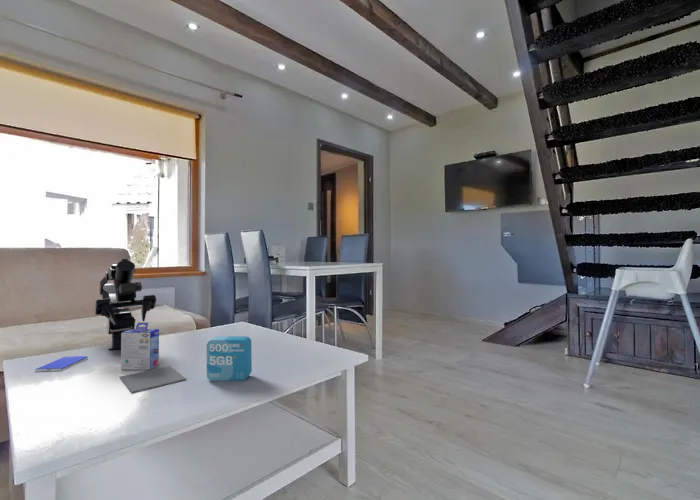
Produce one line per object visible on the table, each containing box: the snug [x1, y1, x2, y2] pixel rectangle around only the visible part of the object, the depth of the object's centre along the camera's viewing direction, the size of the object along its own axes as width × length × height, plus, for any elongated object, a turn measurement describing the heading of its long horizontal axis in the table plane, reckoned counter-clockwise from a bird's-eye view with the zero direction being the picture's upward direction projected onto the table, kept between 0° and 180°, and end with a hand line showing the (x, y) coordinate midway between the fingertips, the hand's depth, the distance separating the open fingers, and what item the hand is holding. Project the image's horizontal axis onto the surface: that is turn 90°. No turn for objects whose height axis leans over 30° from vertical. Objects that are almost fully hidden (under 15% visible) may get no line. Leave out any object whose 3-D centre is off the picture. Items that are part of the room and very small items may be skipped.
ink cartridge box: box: [120, 321, 160, 371], centre depth 115 cm, size 10×6×14 cm, turn 89°
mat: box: [119, 365, 187, 394], centre depth 105 cm, size 16×14×1 cm
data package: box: [206, 335, 253, 382], centre depth 105 cm, size 12×4×12 cm, turn 90°
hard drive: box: [34, 355, 89, 373], centre depth 118 cm, size 2×8×12 cm
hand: (130, 322), depth 125 cm, fingers open, 8 cm apart
